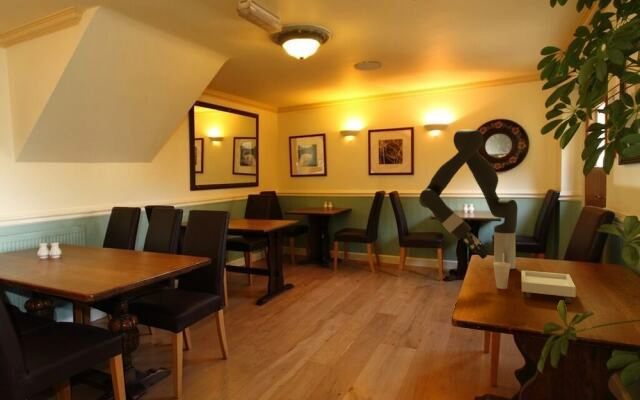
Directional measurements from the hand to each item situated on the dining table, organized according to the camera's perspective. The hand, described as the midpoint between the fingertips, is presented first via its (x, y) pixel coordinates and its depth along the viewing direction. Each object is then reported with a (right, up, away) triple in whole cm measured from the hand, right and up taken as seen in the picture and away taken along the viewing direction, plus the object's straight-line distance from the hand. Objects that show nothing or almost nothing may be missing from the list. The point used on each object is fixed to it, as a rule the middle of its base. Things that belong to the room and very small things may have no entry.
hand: (486, 255), depth 150 cm
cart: (+17, -13, -13) cm, 25 cm away
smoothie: (+5, -13, -2) cm, 14 cm away
